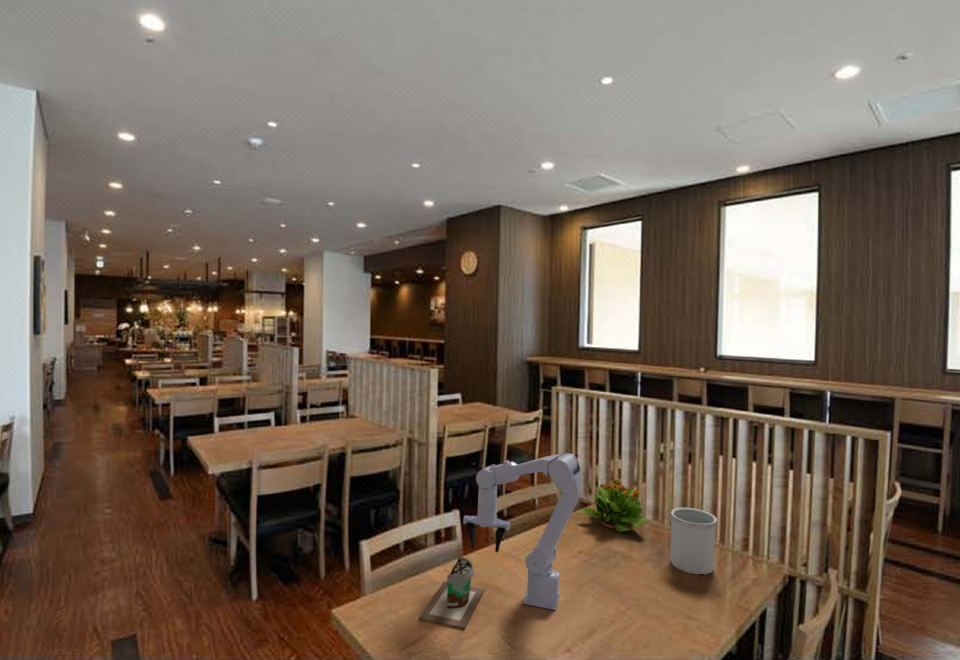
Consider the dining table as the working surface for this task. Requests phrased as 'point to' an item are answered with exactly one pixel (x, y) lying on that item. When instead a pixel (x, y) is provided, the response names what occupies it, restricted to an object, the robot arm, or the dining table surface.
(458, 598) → the food container
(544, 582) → the robot arm
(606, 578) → the dining table surface
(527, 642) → the dining table surface
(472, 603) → the brown picture frame
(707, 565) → the utensil holder
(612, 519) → the potted flower
